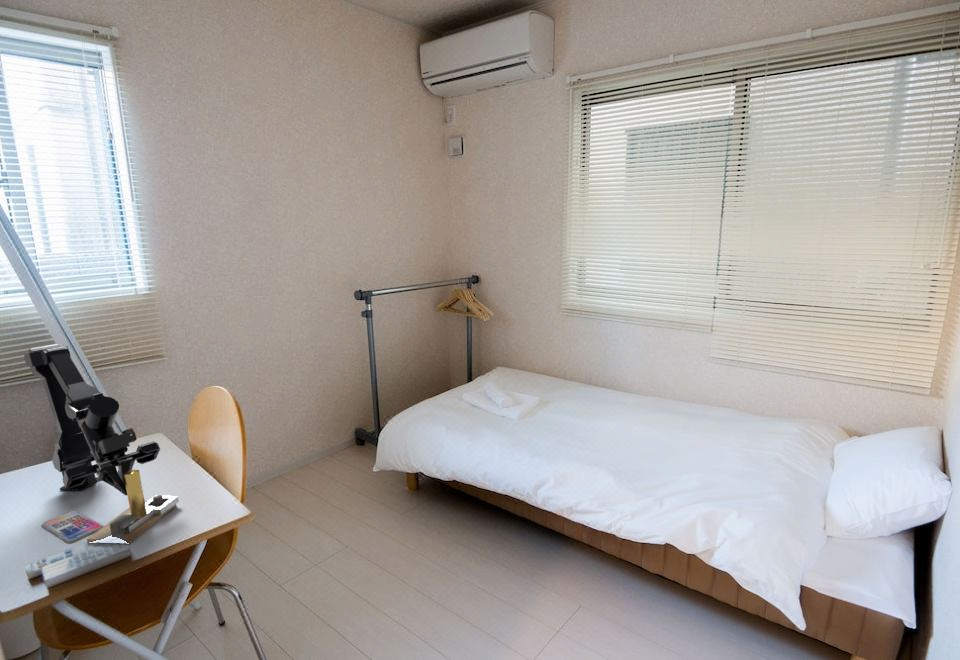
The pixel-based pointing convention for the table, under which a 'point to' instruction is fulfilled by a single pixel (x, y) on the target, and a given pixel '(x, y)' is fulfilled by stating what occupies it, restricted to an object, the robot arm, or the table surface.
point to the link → (143, 501)
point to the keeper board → (127, 535)
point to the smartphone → (72, 526)
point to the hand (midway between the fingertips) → (127, 494)
